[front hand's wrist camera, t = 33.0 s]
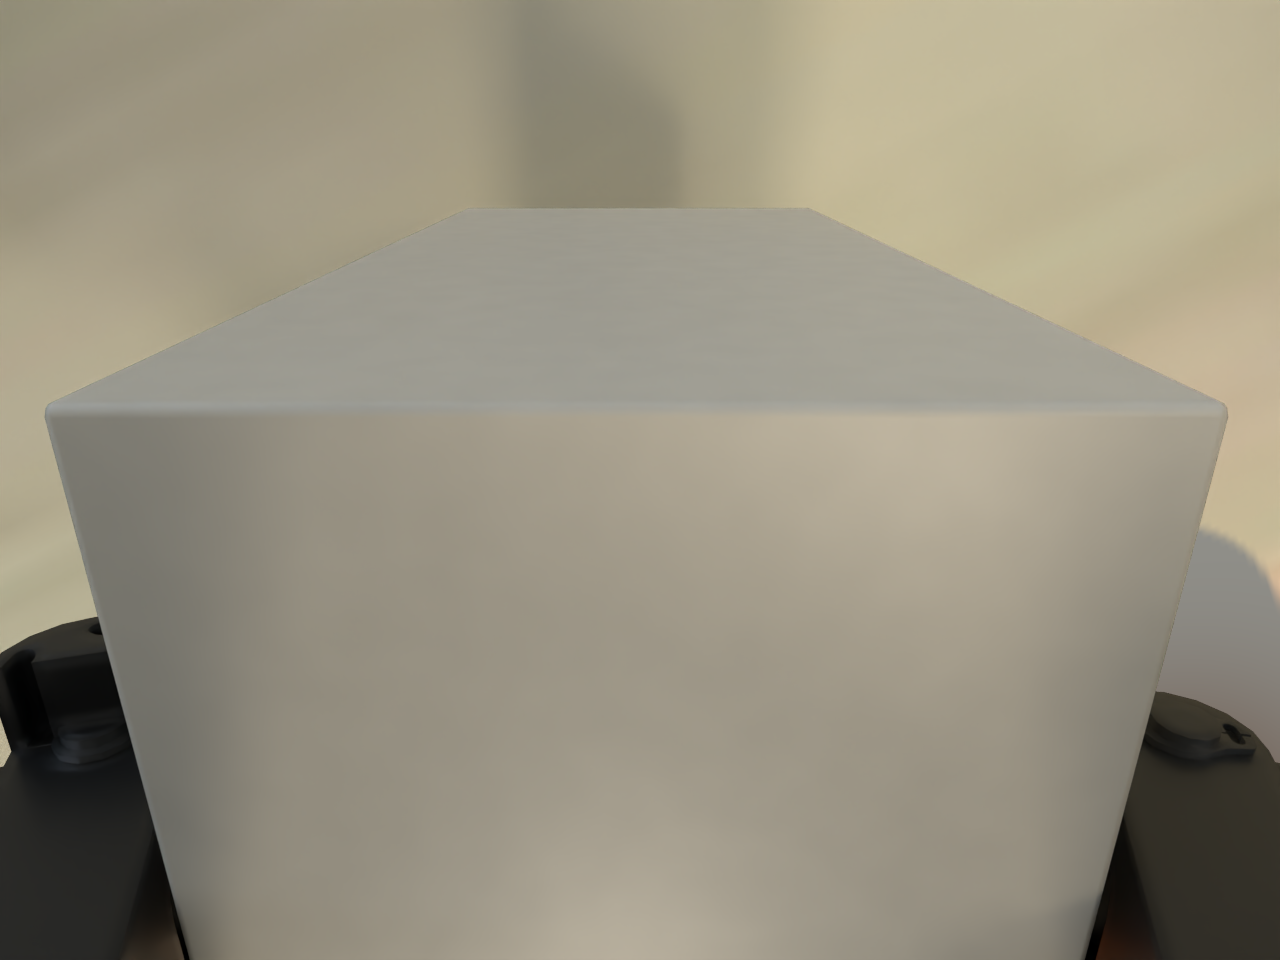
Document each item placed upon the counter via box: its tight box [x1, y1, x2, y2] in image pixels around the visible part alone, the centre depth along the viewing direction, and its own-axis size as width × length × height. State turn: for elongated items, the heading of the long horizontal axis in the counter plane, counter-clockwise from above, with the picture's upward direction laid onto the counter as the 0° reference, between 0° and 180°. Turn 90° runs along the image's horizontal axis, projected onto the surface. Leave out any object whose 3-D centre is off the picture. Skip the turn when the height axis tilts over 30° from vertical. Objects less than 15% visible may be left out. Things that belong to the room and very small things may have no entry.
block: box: [45, 208, 1228, 960], centre depth 11 cm, size 9×6×12 cm, turn 0°
